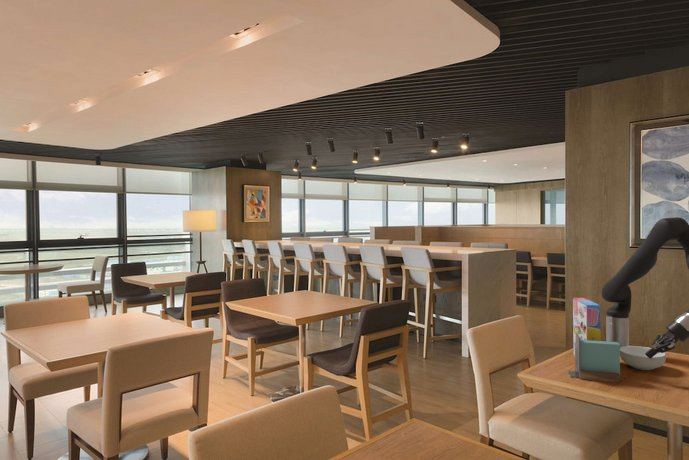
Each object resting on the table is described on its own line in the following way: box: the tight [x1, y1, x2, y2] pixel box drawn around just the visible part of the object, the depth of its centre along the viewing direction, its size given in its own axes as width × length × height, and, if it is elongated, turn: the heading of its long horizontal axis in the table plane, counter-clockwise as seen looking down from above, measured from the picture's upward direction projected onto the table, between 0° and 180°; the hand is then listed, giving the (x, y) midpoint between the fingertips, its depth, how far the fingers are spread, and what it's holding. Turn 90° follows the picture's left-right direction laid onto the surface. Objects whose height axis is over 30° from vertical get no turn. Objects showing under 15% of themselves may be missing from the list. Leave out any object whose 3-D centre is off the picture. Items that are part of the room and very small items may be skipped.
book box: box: [581, 340, 621, 376], centre depth 184 cm, size 4×14×14 cm, turn 72°
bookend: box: [567, 334, 581, 379], centre depth 187 cm, size 7×4×16 cm, turn 163°
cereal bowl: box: [620, 345, 667, 371], centre depth 196 cm, size 17×17×7 cm
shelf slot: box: [574, 343, 621, 383], centre depth 185 cm, size 10×14×12 cm
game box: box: [572, 297, 602, 357], centre depth 204 cm, size 21×6×27 cm, turn 168°
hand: (647, 356), depth 179 cm, fingers closed
